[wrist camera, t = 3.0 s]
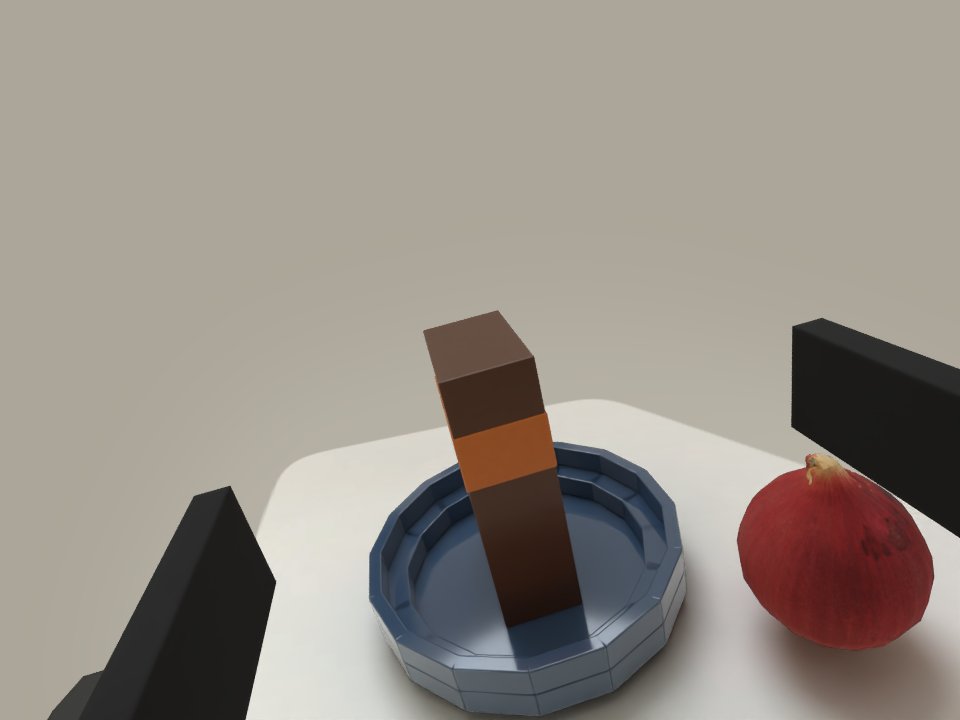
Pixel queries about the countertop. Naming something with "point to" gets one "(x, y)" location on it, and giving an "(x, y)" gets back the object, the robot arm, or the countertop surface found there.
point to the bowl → (549, 639)
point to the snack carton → (506, 463)
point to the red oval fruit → (835, 557)
